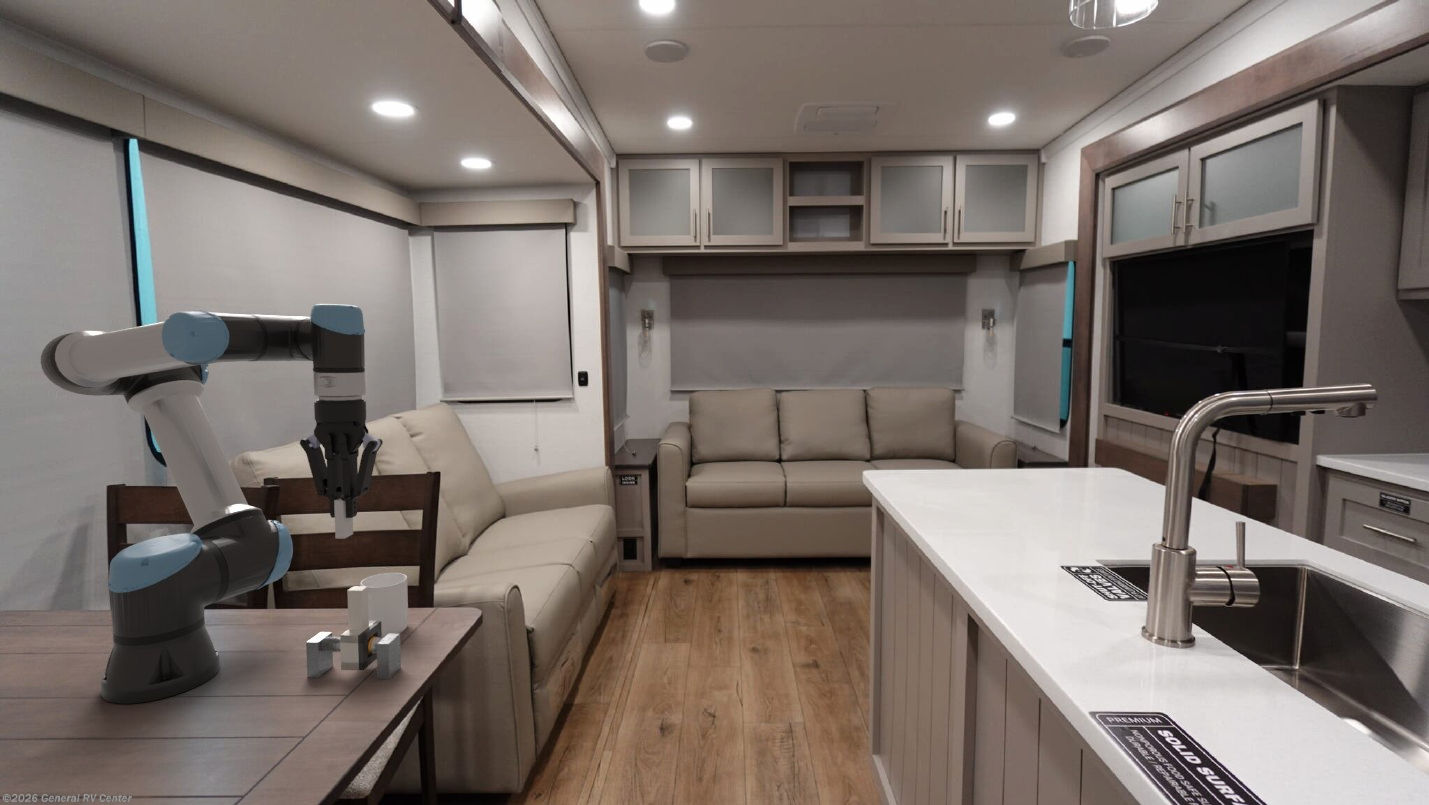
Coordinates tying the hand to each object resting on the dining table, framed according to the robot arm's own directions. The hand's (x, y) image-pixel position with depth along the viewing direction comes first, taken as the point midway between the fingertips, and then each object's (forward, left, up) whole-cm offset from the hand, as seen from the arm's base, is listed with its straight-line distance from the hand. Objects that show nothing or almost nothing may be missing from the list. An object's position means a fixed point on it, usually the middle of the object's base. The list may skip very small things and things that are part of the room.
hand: (344, 536), depth 111 cm
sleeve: (+2, 0, -22) cm, 22 cm away
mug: (-3, +15, -24) cm, 29 cm away
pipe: (+1, 0, -24) cm, 24 cm away
